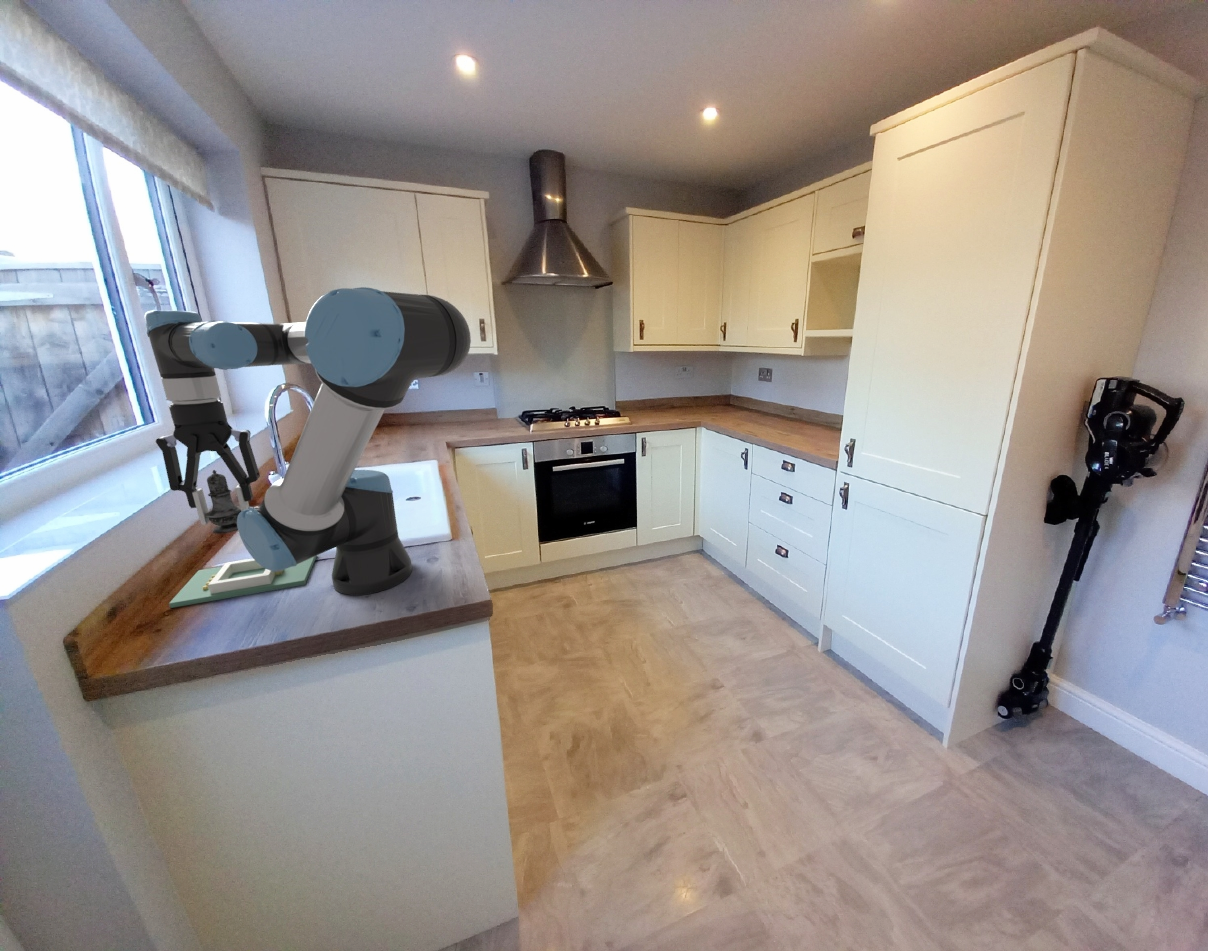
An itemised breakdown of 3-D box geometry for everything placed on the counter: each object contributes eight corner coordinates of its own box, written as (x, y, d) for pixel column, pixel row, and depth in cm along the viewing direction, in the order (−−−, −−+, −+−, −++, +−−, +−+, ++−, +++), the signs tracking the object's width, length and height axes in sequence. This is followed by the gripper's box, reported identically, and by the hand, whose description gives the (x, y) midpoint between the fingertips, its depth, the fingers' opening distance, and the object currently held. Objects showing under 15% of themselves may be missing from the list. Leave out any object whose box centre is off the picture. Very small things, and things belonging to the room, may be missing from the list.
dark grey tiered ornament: (254, 521, 94) (240, 465, 91) (234, 533, 88) (219, 473, 85) (224, 523, 94) (208, 466, 90) (202, 535, 88) (185, 474, 85)
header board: (316, 556, 108) (314, 544, 107) (305, 584, 95) (302, 571, 94) (199, 574, 100) (196, 561, 99) (170, 608, 87) (165, 594, 86)
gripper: (262, 395, 91) (287, 505, 98) (137, 402, 83) (173, 521, 90) (253, 399, 84) (280, 517, 91) (116, 407, 77) (156, 535, 83)
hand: (227, 519), depth 91 cm, fingers closed on dark grey tiered ornament, 6 cm apart
